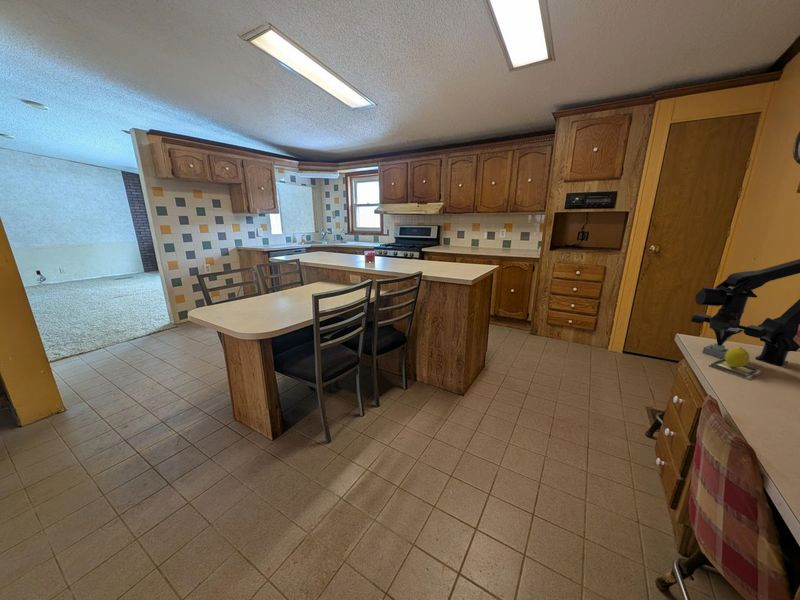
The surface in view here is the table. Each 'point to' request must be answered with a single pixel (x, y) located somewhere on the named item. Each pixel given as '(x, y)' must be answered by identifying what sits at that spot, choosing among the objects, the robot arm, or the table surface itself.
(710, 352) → the button housing
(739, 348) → the lemon
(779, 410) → the table surface
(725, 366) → the grey tray
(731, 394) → the table surface
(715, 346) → the button
